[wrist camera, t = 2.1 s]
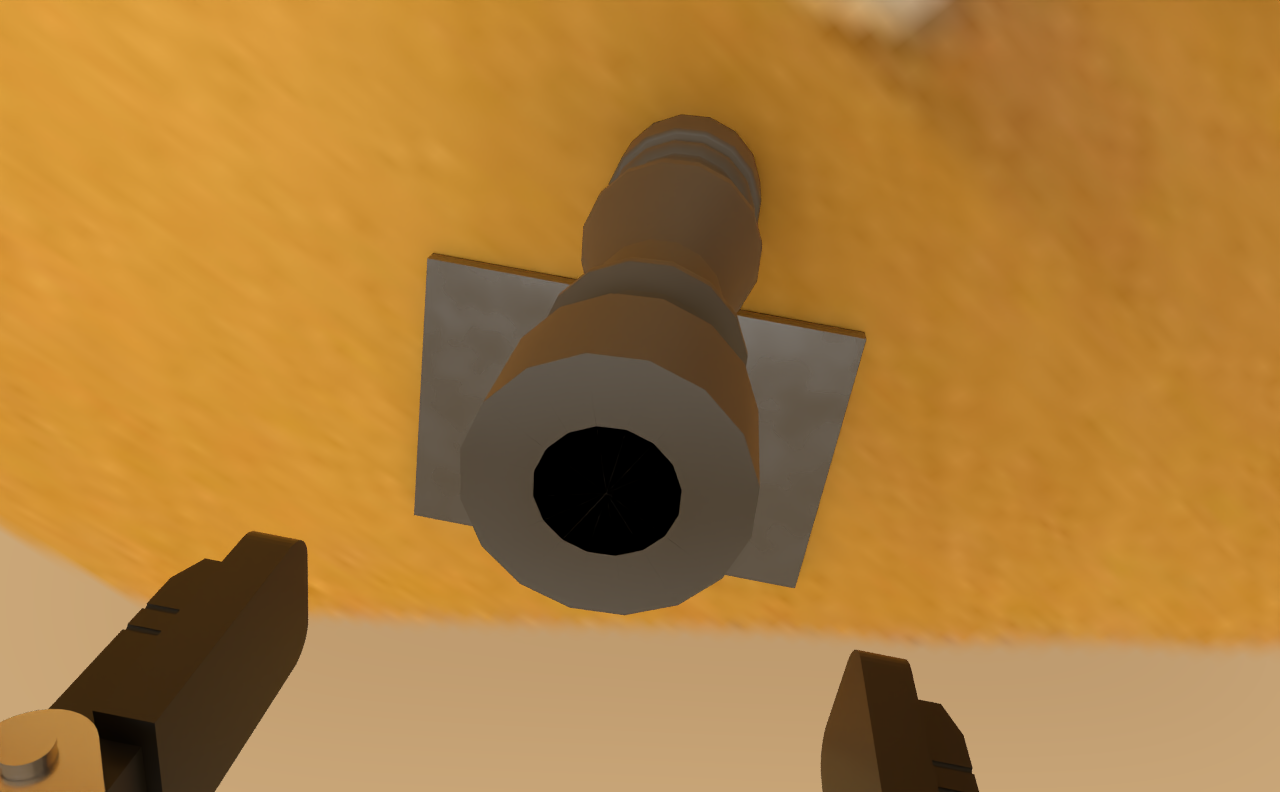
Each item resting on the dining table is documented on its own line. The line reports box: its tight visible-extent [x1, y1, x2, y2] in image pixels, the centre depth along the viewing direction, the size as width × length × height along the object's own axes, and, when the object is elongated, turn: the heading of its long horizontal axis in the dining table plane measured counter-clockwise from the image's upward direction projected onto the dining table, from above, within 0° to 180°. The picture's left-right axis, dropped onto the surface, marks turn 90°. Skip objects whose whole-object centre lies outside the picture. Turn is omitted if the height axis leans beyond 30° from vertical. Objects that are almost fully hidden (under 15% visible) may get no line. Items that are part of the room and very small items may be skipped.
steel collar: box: [414, 253, 866, 588], centre depth 43 cm, size 20×14×5 cm
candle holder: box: [460, 115, 762, 615], centre depth 28 cm, size 6×6×25 cm
